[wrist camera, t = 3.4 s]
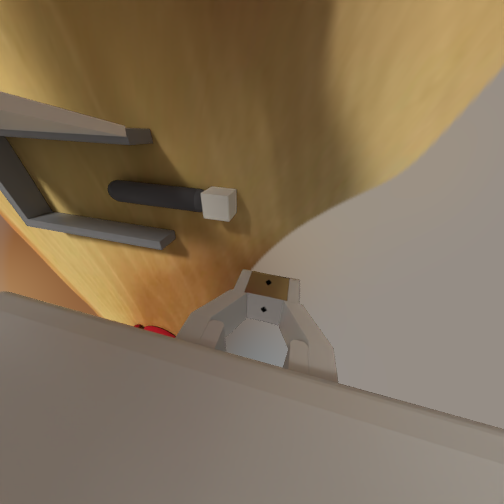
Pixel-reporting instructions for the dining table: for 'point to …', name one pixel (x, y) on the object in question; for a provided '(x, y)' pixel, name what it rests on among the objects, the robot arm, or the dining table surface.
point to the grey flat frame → (41, 216)
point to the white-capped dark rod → (178, 198)
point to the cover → (51, 118)
